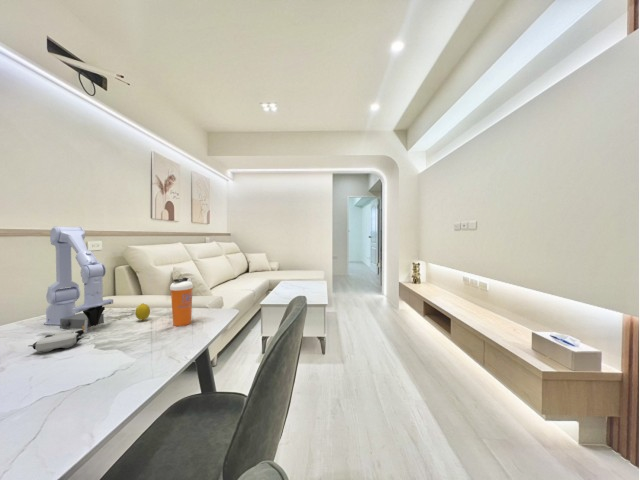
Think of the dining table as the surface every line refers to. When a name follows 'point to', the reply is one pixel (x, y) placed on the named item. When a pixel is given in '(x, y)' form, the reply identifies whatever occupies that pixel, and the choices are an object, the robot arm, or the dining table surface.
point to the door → (85, 326)
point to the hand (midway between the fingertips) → (94, 325)
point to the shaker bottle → (181, 301)
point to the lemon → (142, 311)
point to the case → (77, 321)
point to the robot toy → (58, 340)
